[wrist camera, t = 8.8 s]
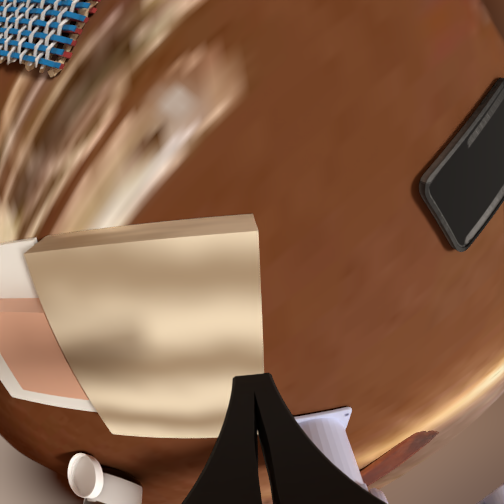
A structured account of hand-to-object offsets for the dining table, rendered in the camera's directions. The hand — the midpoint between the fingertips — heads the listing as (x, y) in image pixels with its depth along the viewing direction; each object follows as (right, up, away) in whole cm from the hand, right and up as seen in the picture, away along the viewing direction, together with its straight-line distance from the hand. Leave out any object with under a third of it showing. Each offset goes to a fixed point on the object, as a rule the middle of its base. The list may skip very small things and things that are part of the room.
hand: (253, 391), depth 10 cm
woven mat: (-14, +22, 0) cm, 26 cm away
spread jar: (-21, -26, +20) cm, 39 cm away
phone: (+19, +13, +7) cm, 24 cm away
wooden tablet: (+20, -32, +27) cm, 47 cm away
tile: (-18, -2, +9) cm, 20 cm away
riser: (-7, -1, +10) cm, 12 cm away
